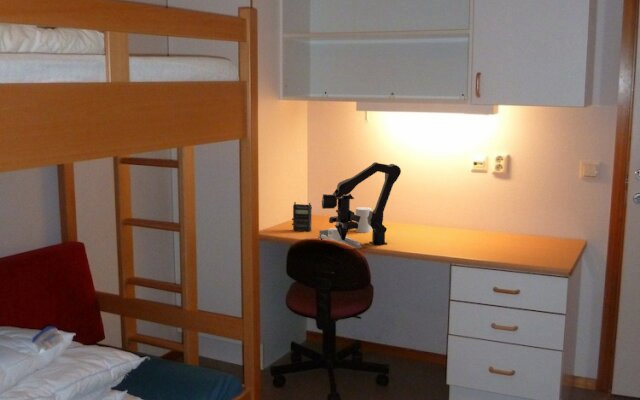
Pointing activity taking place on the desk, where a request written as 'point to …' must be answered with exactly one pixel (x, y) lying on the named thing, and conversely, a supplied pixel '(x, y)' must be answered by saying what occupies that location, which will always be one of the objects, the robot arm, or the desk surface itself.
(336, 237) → the block
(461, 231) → the desk surface
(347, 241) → the rail board
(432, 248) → the desk surface
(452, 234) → the desk surface
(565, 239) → the desk surface
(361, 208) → the cup
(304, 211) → the geiger counter
